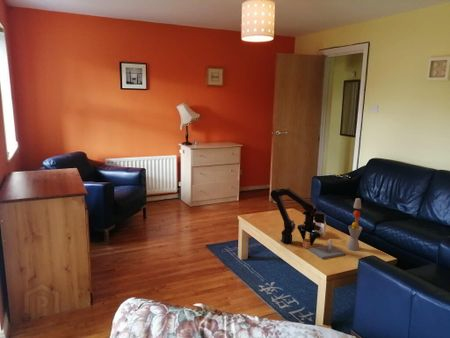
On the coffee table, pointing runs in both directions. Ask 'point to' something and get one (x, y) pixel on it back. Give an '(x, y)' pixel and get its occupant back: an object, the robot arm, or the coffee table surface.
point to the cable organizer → (322, 229)
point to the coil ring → (306, 243)
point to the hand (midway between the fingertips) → (307, 242)
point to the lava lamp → (355, 228)
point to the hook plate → (327, 251)
